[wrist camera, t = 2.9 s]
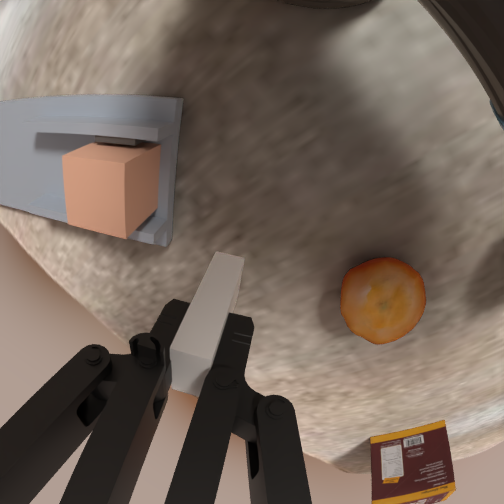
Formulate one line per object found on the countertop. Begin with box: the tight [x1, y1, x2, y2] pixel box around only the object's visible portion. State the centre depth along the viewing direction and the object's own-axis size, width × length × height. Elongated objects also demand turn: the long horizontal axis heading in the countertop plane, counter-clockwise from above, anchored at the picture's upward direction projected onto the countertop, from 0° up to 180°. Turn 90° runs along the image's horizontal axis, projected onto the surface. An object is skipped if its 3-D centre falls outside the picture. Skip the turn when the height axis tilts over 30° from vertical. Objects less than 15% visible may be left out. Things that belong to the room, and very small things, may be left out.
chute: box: [0, 94, 184, 247], centre depth 25 cm, size 14×30×4 cm, turn 80°
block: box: [62, 142, 161, 239], centre depth 23 cm, size 6×6×6 cm
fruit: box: [340, 257, 426, 344], centre depth 27 cm, size 8×8×8 cm
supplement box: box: [370, 420, 456, 504], centre depth 40 cm, size 10×15×16 cm
